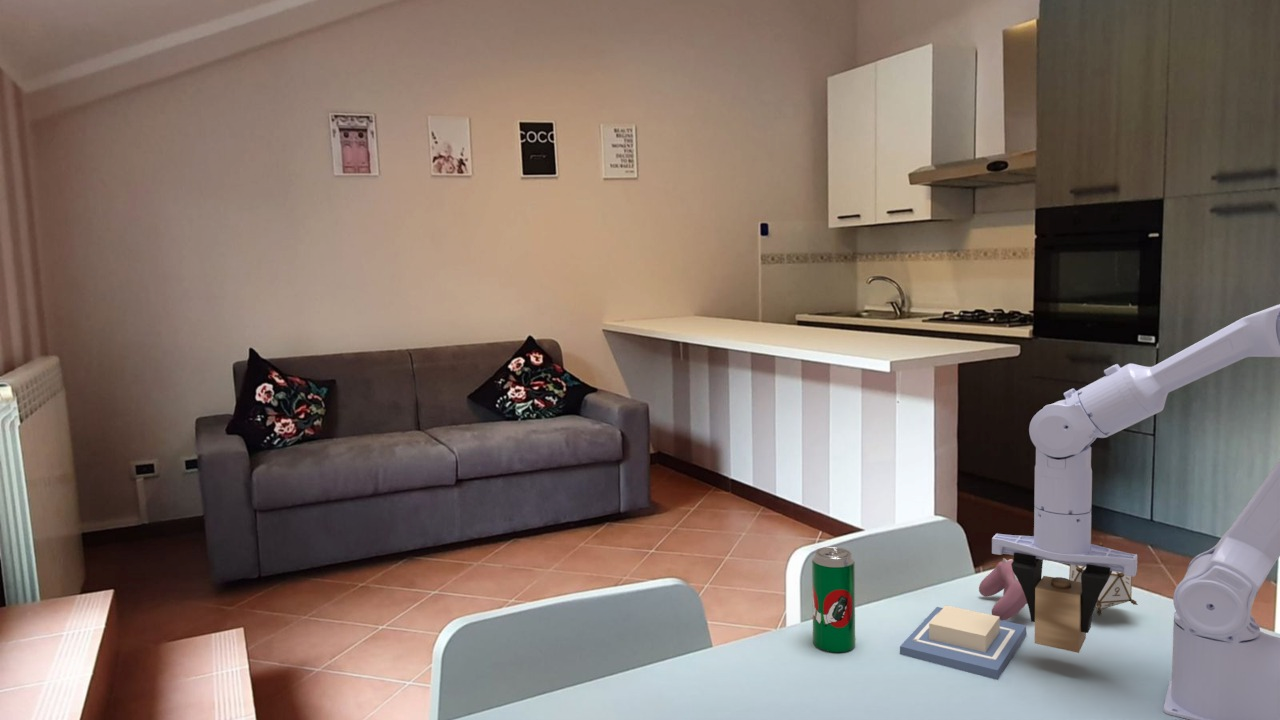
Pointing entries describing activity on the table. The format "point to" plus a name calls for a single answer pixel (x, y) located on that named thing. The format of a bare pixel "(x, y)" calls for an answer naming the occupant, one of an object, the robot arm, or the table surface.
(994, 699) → the table surface
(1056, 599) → the oak block
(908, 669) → the table surface
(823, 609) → the soda can
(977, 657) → the blueprint board
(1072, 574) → the game die
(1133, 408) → the robot arm
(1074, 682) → the table surface
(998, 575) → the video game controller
